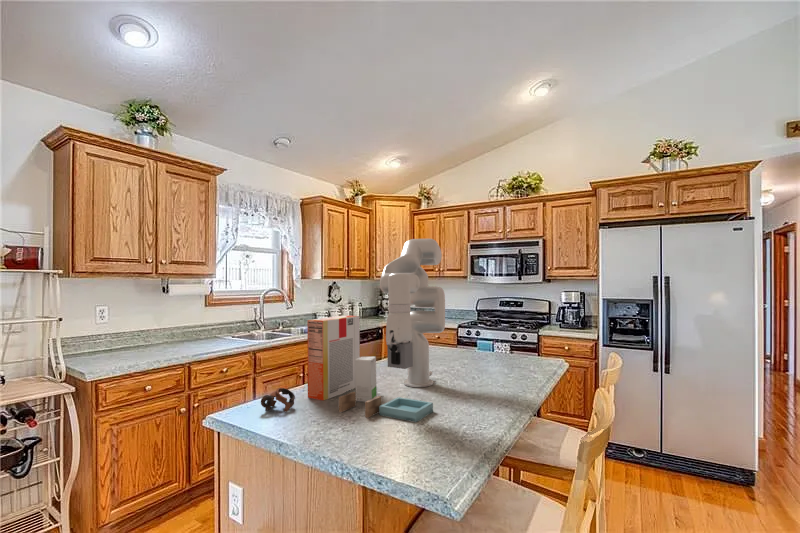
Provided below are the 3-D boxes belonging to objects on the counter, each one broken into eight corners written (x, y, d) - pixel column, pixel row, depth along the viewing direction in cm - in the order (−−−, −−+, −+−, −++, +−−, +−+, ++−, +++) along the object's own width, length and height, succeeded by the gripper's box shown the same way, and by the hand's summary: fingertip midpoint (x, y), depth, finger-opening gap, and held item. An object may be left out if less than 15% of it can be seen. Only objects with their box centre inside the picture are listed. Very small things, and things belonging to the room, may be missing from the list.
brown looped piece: (278, 404, 150) (289, 386, 149) (291, 421, 144) (302, 402, 143) (251, 404, 141) (262, 384, 140) (262, 422, 135) (274, 401, 134)
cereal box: (345, 384, 177) (344, 315, 178) (359, 386, 172) (359, 316, 174) (307, 397, 157) (307, 320, 158) (323, 400, 153) (323, 320, 154)
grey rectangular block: (395, 364, 142) (395, 338, 142) (412, 366, 138) (412, 339, 138) (387, 366, 138) (387, 340, 138) (405, 369, 134) (404, 341, 134)
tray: (398, 405, 146) (398, 397, 146) (433, 411, 138) (432, 402, 138) (379, 415, 135) (379, 406, 135) (416, 422, 128) (415, 412, 128)
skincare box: (371, 402, 149) (371, 360, 150) (354, 401, 151) (354, 359, 151) (377, 396, 158) (376, 356, 158) (360, 395, 159) (360, 355, 160)
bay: (353, 405, 146) (353, 391, 146) (381, 410, 140) (381, 396, 140) (338, 411, 139) (338, 397, 139) (368, 417, 133) (367, 402, 133)
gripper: (403, 307, 148) (404, 357, 147) (376, 310, 133) (376, 366, 133) (421, 307, 144) (422, 359, 143) (395, 311, 129) (395, 368, 129)
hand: (400, 362), depth 138 cm, fingers closed on grey rectangular block, 5 cm apart
